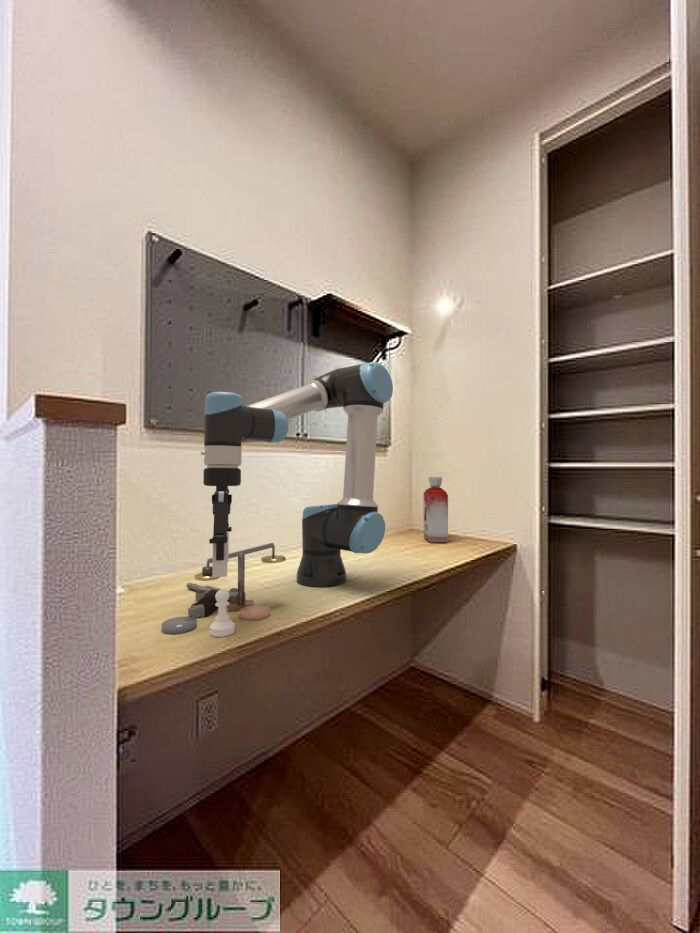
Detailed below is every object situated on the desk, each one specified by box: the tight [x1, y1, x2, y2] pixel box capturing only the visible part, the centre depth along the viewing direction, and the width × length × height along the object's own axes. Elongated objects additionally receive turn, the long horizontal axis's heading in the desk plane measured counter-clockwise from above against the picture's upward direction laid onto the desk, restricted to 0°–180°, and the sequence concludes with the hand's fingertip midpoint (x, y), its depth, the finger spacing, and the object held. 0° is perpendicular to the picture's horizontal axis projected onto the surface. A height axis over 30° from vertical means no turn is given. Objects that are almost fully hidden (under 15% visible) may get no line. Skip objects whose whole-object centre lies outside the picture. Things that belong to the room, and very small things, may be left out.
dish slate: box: [161, 616, 198, 635], centre depth 92 cm, size 7×7×1 cm
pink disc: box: [238, 604, 271, 621], centre depth 100 cm, size 7×7×1 cm
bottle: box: [422, 476, 449, 544], centre depth 200 cm, size 14×10×30 cm
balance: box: [194, 542, 287, 613], centre depth 105 cm, size 22×6×16 cm, turn 105°
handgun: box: [185, 582, 247, 619], centre depth 110 cm, size 3×24×15 cm
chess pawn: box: [209, 588, 236, 638], centre depth 90 cm, size 5×5×9 cm
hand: (221, 568), depth 89 cm, fingers open, 13 cm apart
